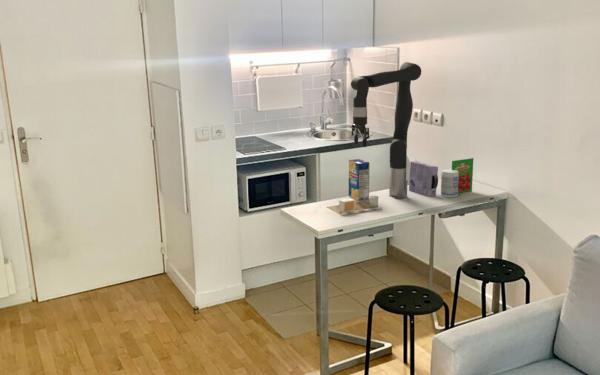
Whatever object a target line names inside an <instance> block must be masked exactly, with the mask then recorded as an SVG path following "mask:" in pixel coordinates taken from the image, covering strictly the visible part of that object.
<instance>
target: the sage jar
mask: <svg viewBox="0 0 600 375" xmlns="http://www.w3.org/2000/svg"><path fill="white" fill-rule="evenodd" d="M369 203H370V208H376V207H379V196H378V195H369Z"/></svg>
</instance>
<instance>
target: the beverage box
mask: <svg viewBox="0 0 600 375" xmlns="http://www.w3.org/2000/svg"><path fill="white" fill-rule="evenodd" d="M348 197H349V198H352V199H354V200H355V201H356V200H357V202H360V201H366V200H370V161H367V160H364V159H361V158H357V159H356V158H355V159H349V160H348Z"/></svg>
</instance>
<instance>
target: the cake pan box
mask: <svg viewBox="0 0 600 375" xmlns="http://www.w3.org/2000/svg"><path fill="white" fill-rule="evenodd" d="M438 172H439V167H438V166H436V165H433V164H430V163H425V162H421V161H417V160H411V161H410V168H409V181H408V184H409V185H408V191H410V192H414V193H417V194H419V195H423V196H427V197H429V198H430V197H431V198H433V197H437V187H438V186H439V185H438V184H439V175H438V174H439V173H438Z"/></svg>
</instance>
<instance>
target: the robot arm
mask: <svg viewBox="0 0 600 375" xmlns="http://www.w3.org/2000/svg"><path fill="white" fill-rule="evenodd" d="M421 75H422V68H421V66H419V64H417V63H414V62H410V61H409V62H408V61H405V62H403V63H402V64H401V65H400V68H399V69H397V70H389V71H381V72H376V73H372V74H369V75H368V74H367V75H361V76H359V75H358V76H356V77H354V78H353V79H352V80H351V82H350V87H351V88H352V89H353V90H354V91H356V95H355V96H353V102H352V103H353V104H352V105H353V108H352V109H353V110H352V123H353V124H351V136H352V137H353V144H354V145H359V136H360V137H361V139H362V142H361V144H362V147H363V148H367V143H368V141H367V140H370V128H369V127H366V125H367V124H368V107H367V105H368V102H367V101H368V100H367V98H368V95H369V89H370V88H378V87H381V86H385V85H389V84H394V83H398V87H397V95H396V96H397V97H396V103H395V110H394V130H393V135H392V138H391V139H392V140H391V142H390V145H389V146H390V147H389V191H388V192H389V194H388V196H389V197H390V198H392V199H395V200H396V199H397V200H398V199H404V198H406V197H407V198H408V184H409V181H408V179H407V152H408V130H409V127H410V124H411V120H412V114H413V108H414V102H413V97H412V94H411V82H412V81H416V80H418V79H419V78H420V77H421Z"/></svg>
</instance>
